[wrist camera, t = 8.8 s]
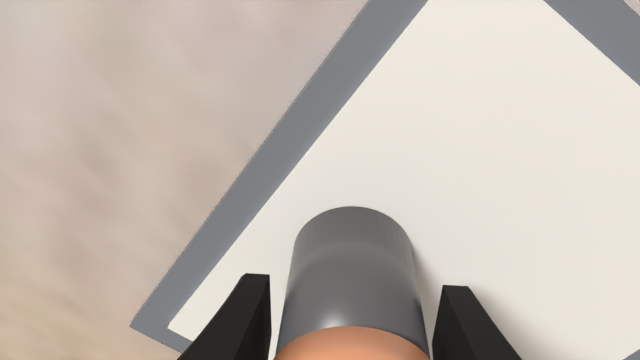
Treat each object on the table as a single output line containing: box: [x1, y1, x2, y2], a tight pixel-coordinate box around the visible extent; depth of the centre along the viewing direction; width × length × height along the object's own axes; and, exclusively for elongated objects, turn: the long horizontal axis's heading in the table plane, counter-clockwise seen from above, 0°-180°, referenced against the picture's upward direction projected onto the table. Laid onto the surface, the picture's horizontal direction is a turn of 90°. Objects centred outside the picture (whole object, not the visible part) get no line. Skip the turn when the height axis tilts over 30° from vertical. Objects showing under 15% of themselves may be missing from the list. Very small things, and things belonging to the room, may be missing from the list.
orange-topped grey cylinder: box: [273, 206, 431, 360], centre depth 12 cm, size 4×4×6 cm
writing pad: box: [129, 0, 640, 360], centre depth 15 cm, size 14×16×1 cm
